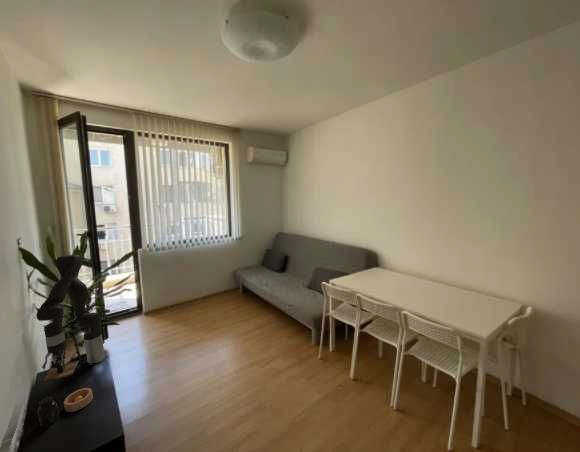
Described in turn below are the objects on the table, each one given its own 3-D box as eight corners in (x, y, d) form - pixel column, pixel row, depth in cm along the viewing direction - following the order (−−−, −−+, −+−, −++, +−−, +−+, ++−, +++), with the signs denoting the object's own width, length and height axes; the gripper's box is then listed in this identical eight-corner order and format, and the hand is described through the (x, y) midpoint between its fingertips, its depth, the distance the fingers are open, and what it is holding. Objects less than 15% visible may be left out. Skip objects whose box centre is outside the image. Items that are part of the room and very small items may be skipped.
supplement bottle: (56, 414, 126) (52, 392, 125) (62, 419, 123) (57, 397, 121) (38, 425, 120) (33, 402, 119) (43, 431, 117) (38, 408, 115)
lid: (51, 369, 140) (49, 360, 139) (78, 361, 145) (76, 352, 144) (42, 383, 129) (40, 373, 128) (72, 374, 135) (70, 364, 134)
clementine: (76, 401, 132) (74, 395, 132) (84, 399, 134) (83, 392, 133) (74, 406, 129) (72, 400, 128) (82, 403, 130) (81, 397, 130)
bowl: (69, 401, 134) (68, 393, 133) (94, 393, 139) (93, 385, 138) (62, 417, 124) (61, 408, 123) (90, 407, 129) (88, 398, 128)
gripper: (51, 337, 139) (57, 365, 141) (41, 350, 127) (47, 381, 129) (68, 333, 142) (73, 361, 145) (60, 345, 130) (66, 375, 133)
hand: (61, 370), depth 137 cm, fingers closed on lid, 2 cm apart
